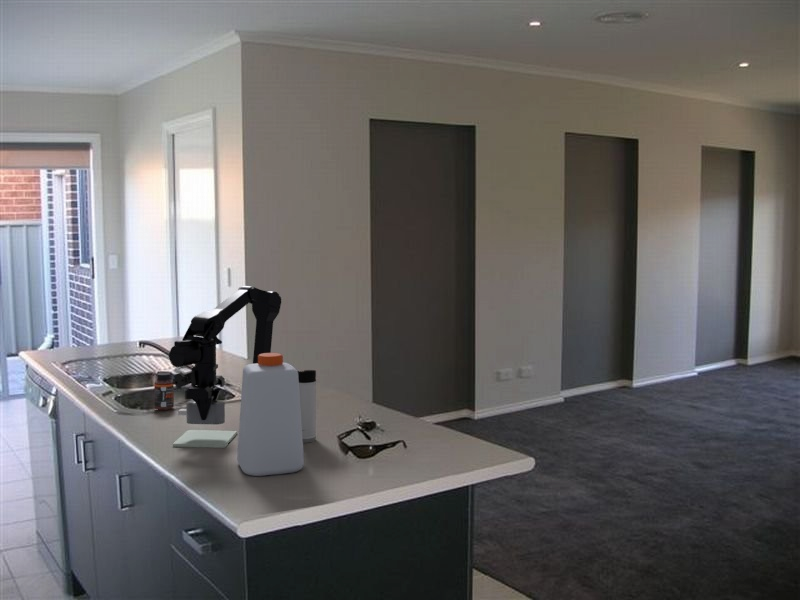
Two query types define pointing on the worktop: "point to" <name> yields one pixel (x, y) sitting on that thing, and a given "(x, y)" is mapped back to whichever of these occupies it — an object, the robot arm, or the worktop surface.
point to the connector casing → (213, 417)
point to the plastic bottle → (270, 418)
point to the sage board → (205, 438)
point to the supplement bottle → (164, 392)
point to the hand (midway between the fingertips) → (206, 417)
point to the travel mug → (308, 404)
